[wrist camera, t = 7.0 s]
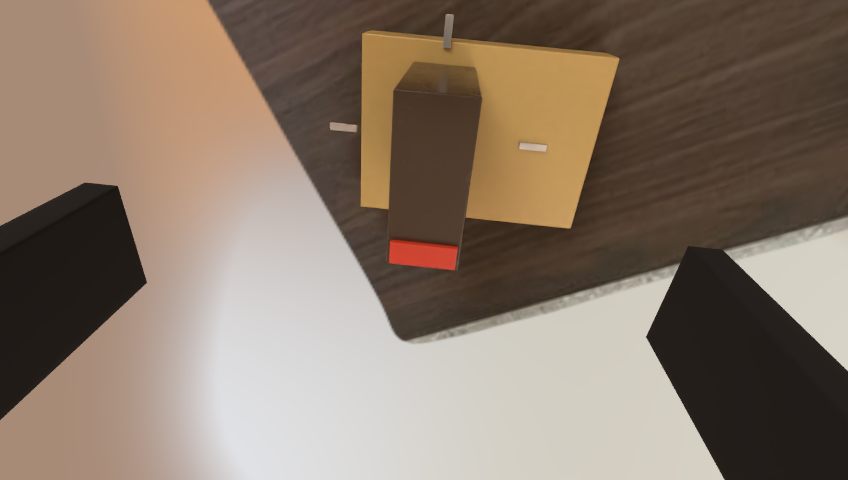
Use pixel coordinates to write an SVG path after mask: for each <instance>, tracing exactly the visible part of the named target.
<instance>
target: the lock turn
mask: <svg viewBox="0 0 848 480" xmlns="http://www.w3.org/2000/svg"><path fill="white" fill-rule="evenodd" d="M481 105H482V95H481V90H480V86H479V81H478V76H477V71H476V68H475V67H467V66H456V65H445V64H435V63H424V62H413V63H412V65H411V66H410V68H409V69H408V70H407V72H406V73H405V74H404V76H403V77H402V79H401V80H400V81H399V83H398V84H397V85H396V87H395V88H394V90H393V111H392V135H391V160H390V185H389V209H388V234H387V258H386V262H387V263H390V264H399V265H408V266H418V267H427V268H436V269H446V270H455V271H457V270H458V267H459V260H460V253H461V246H462V239H463V232H464V225H465V218H466V211H467V204H468V197H469V190H470V183H471V176H472V168H473V161H474V154H475V147H476V140H477V133H478V126H479V119H480V112H481Z"/></svg>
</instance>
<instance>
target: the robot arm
mask: <svg viewBox="0 0 848 480" xmlns="http://www.w3.org/2000/svg"><path fill="white" fill-rule="evenodd" d="M146 283H147V282H146V278H145V275H144V272H143V268H142V265H141V261H140V258H139V255H138V252H137V248H136V245H135V242H134V238H133V235H132V232H131V229H130V225H129V222H128V219H127V215H126V212H125V209H124V205H123V202H122V199H121V195H120V192H119V189H118V186H112V185H103V184H93V183H84V184H81V185H80V186H78V187H76V188H74V189H72V190H70V191H68V192H66V193H64V194H62V195H60V196H58V197H56V198H54V199H52V200H50V201H48V202H46V203H44V204H42V205H40V206H38V207H37V208H35V209H33V210H31V211H29V212H27V213H25V214H23V215H21V216H19V217H17V218H15V219H13V220H11V221H9V222H8V223H5V224H3V225H1V226H0V420H1V419H2V418H3V417H4V416H5V415H6V414H7V413H8V412H9V411H10V410H11V409H13V408H14V407H15V406H16V405H17V404H18V403H19V402H20V401H21V400H22V399H23V398H24V397H25V396H26V395H28V394H29V393H30V392H31V391H32V390H33V389H34V388H35V387H36V386H37V385H38V384H39V383H40V382H41V381H42V380H43V379H45V378H46V377H47V376H48V375H49V374H50V373H51V372H52V371H53V370H54V369H55V368H56V367H57V366H58V365H60V364H61V362H63V361H64V360H65V359H66V358H67V357H68V356H69V355H70V354H71V353H72V352H73V351H74V350H76V349H77V348H78V347H79V346H80V345H81V344H82V343H83V342H84V341H85V340H86V339H87V338H88V337H89V336H90V335H91V334H93V333H94V332H95V331H96V330H97V329H98V328H99V327H100V326H101V325H102V324H103V323H104V322H105V321H106V320H108V319H109V318H110V317H111V316H112V315H113V314H114V313H115V312H116V311H117V310H118V309H119V308H120V307H121V306H123V305H124V304H125V303H126V302H127V301H128V300H129V299H130V298H131V297H132V296H133V295H134V294H135V293H136V292H137V291H138V290H140V289H141V288H142V287H143V286H144V285H145V284H146ZM646 338H647V339H648V341H649V343H650V345H651V347H652V348H653V350H654V352H655V354H656V356H657V358H658V359H659V361H660V363H661V365H662V367H663V368H664V370H665V372H666V374H667V376H668V378H669V379H670V381H671V383H672V385H673V386H674V389H675V390H676V392H677V394H678V396H679V398H680V399H681V401H682V403H683V404H684V407H685V409H686V410H687V412H688V414H689V416H690V418H691V419H692V421H693V423H694V425H695V427H696V428H697V430H698V432H699V434H700V436H701V438H702V439H703V441H704V443H705V445H706V447H707V448H708V450H709V452H710V454H711V456H712V458H713V459H714V461H715V463H716V465H717V466H718V468H719V470H720V472H721V474H722V476H723V478H724V479H725V480H848V371H847V370H846V369H845V368H844V367H843V366H842V365H841V364H840V363H839V362H838V361H837V360H836V359H834V357H832V356H831V355H830V354H829V353H828V352H827V351H826V350H825V349H824V348H823V347H822V346H821V345H820V344H819V343H818V342H817V341H816V340H815V339H814V338H813V337H812V336H811V335H810V334H809V333H808V332H807V331H806V330H805V329H804V328H803V327H802V326H801V325H800V324H798V323H797V322H796V321H795V320H794V319H793V318H792V317H791V316H790V315H789V314H788V313H787V312H786V311H785V310H784V309H783V308H782V307H781V306H780V305H779V304H778V303H777V302H776V301H775V300H773V298H772V297H770V296H769V294H767V293H766V292H765V291H764V290H763V289H762V288H761V287H760V286H759V285H758V284H757V283H756V282H755V281H754V280H753V279H752V278H751V277H750V276H749V275H748V274H747V273H746V272H745V271H744V270H743V269H742V268H741V267H740V266H739V265H738V264H737V263H735V262H734V261H733V260H732V259H731V258H730V257H729V256H728V255H727V254H726V253H725V252H724V251H723V250H719V249H710V248H700V247H691V246H688V248H687V250H686V252H685V255H684V257H683V259H682V261H681V263H680V265H679V267H678V270H677V272H676V274H675V276H674V278H673V280H672V283H671V285H670V287H669V289H668V291H667V293H666V295H665V298H664V300H663V302H662V304H661V306H660V308H659V311H658V313H657V315H656V317H655V319H654V321H653V323H652V325H651V328H650V330H649V332H648V334H647V336H646Z"/></svg>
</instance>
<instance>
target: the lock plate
mask: <svg viewBox="0 0 848 480" xmlns="http://www.w3.org/2000/svg"><path fill="white" fill-rule="evenodd" d="M453 18H454V15H451V14H446V18H445V28H444V37H436V36H426V35H416V34H405V33H395V32H385V31H374V30H370V31H368V32H365V33H363V34H362V126H361V206H363V207H373V208H382V209H389V185H390V160H391V135H392V111H393V90H394V88H395V87H396V85H397V84H398V83H399V81H400V80H401V79H402V77H403V76H404V74H405V73H406V72H407V70H408V69H409V68H410V66H411V65H412V63H413V62H424V63H435V64H445V65H456V66H467V67H475V68H476V71H477V76H478V81H479V86H480V90H481V95H482V105H481V112H480V119H479V126H478V133H477V140H476V147H475V154H474V161H473V168H472V176H471V183H470V190H469V197H468V204H467V211H466V218H476V219H485V220H494V221H504V222H513V223H522V224H532V225H541V226H550V227H560V228H569V229H570V228H571V225H572V222H573V218H574V215H575V211H576V208H577V204H578V201H579V197H580V194H581V190H582V187H583V184H584V180H585V177H586V173H587V170H588V166H589V163H590V159H591V156H592V152H593V149H594V145H595V142H596V138H597V135H598V132H599V128H600V125H601V121H602V118H603V114H604V111H605V107H606V104H607V100H608V97H609V93H610V90H611V87H612V83H613V80H614V76H615V73H616V69H617V66H618V62H619V58H618V57H615V56H613V55H610V54H608V53H601V52H591V51H581V50H570V49H560V48H550V47H539V46H529V45H519V44H508V43H498V42H488V41H477V40H467V39H457V38H452V28H453ZM330 130H339V131H348V132H357V125H354V124H344V123H335V122H330Z"/></svg>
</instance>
